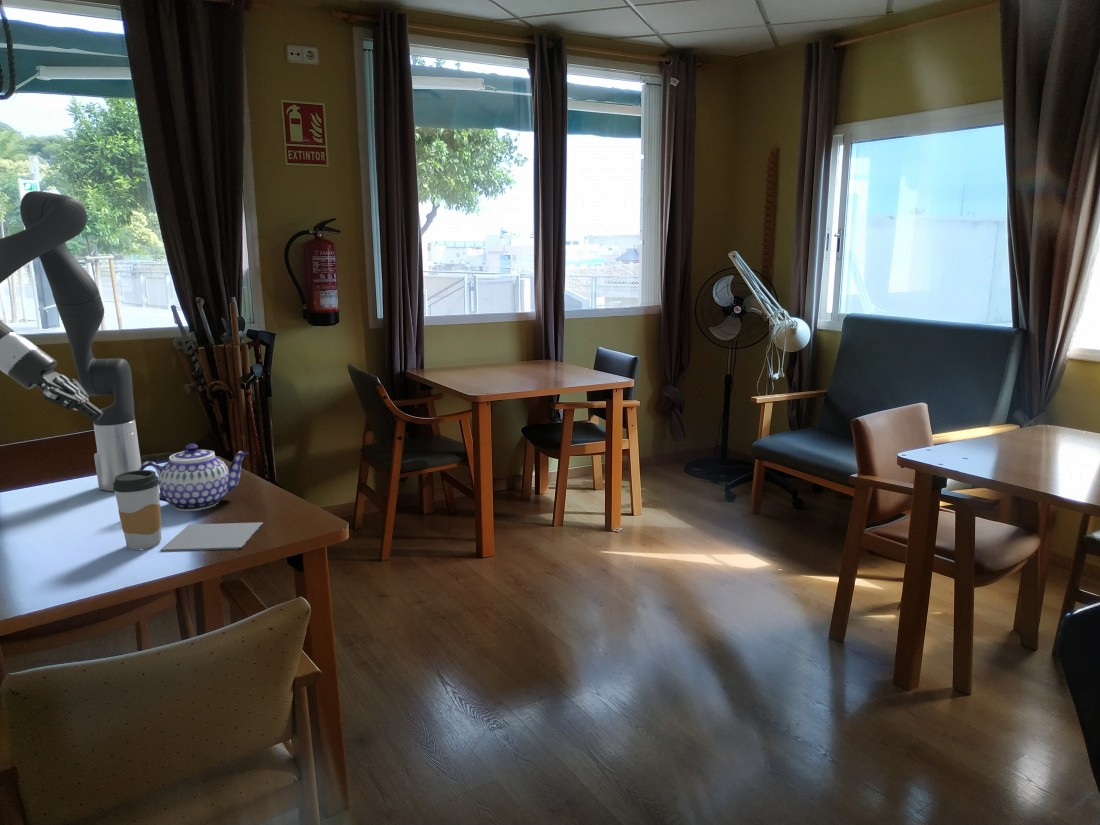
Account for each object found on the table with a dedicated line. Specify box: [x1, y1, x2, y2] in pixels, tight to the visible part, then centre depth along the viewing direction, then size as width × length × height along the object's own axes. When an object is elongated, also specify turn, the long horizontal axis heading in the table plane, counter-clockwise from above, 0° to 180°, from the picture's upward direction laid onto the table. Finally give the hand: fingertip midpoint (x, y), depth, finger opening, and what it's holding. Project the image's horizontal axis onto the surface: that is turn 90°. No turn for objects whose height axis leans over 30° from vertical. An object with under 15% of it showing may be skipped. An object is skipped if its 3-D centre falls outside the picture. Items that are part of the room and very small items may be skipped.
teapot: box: [138, 443, 249, 512], centre depth 177 cm, size 25×15×15 cm, turn 121°
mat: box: [160, 521, 264, 552], centre depth 158 cm, size 16×14×1 cm
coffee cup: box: [113, 469, 162, 551], centre depth 152 cm, size 8×8×15 cm
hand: (99, 417), depth 151 cm, fingers closed
